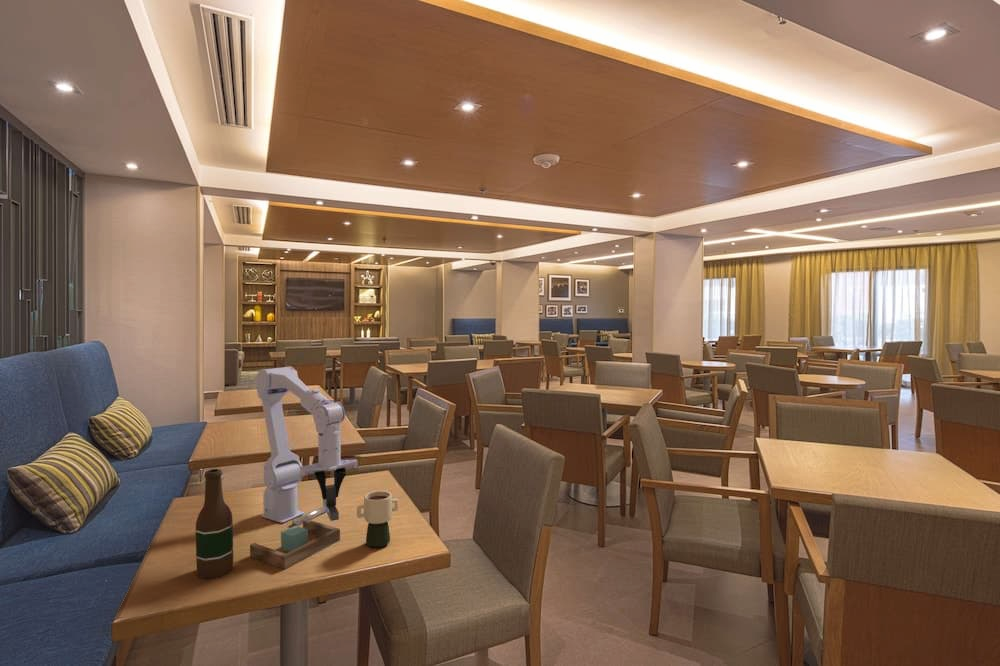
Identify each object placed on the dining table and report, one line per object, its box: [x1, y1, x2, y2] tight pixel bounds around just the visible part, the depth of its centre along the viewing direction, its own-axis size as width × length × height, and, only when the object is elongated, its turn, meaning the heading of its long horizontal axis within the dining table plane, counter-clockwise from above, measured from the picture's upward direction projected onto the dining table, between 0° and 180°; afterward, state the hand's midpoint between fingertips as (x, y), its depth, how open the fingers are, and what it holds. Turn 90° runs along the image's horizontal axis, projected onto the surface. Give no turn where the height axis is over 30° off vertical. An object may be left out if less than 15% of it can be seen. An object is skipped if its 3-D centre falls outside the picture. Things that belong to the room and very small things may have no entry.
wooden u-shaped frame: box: [249, 519, 341, 570], centre depth 132 cm, size 13×17×3 cm
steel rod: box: [291, 505, 327, 526], centre depth 150 cm, size 12×2×2 cm, turn 152°
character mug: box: [356, 490, 399, 548], centre depth 134 cm, size 11×7×13 cm, turn 119°
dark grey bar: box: [322, 484, 340, 522], centre depth 139 cm, size 2×12×7 cm, turn 28°
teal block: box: [280, 525, 309, 552], centre depth 132 cm, size 4×4×4 cm
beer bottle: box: [195, 468, 234, 580], centre depth 119 cm, size 8×8×24 cm
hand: (330, 497), depth 139 cm, fingers closed on dark grey bar, 2 cm apart
